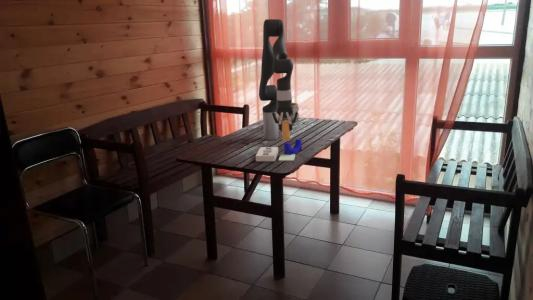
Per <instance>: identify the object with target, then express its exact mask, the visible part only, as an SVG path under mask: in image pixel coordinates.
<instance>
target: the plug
mask: <svg viewBox="0 0 533 300" xmlns="http://www.w3.org/2000/svg"><path fill="white" fill-rule="evenodd" d="M281 123H282V131H281V137H282V138H281V140H282V141H283V142H287V141H288V142H290V141H291V131H290V129H289V124H290V123H289V121H282V122H281Z"/></svg>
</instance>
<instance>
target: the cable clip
mask: <svg viewBox="0 0 533 300" xmlns="http://www.w3.org/2000/svg"><path fill="white" fill-rule="evenodd" d="M302 141H303V140H302V139H300V138H297V139H295V142H294V145H293V147H291V143H290V142H284V143H283V148H284V151H283V152H284V153H283V154H288V155H292V154H295V155H296V154H298V152H300V151H303V147H302V146H303V145H302V143H303V142H302Z"/></svg>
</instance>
